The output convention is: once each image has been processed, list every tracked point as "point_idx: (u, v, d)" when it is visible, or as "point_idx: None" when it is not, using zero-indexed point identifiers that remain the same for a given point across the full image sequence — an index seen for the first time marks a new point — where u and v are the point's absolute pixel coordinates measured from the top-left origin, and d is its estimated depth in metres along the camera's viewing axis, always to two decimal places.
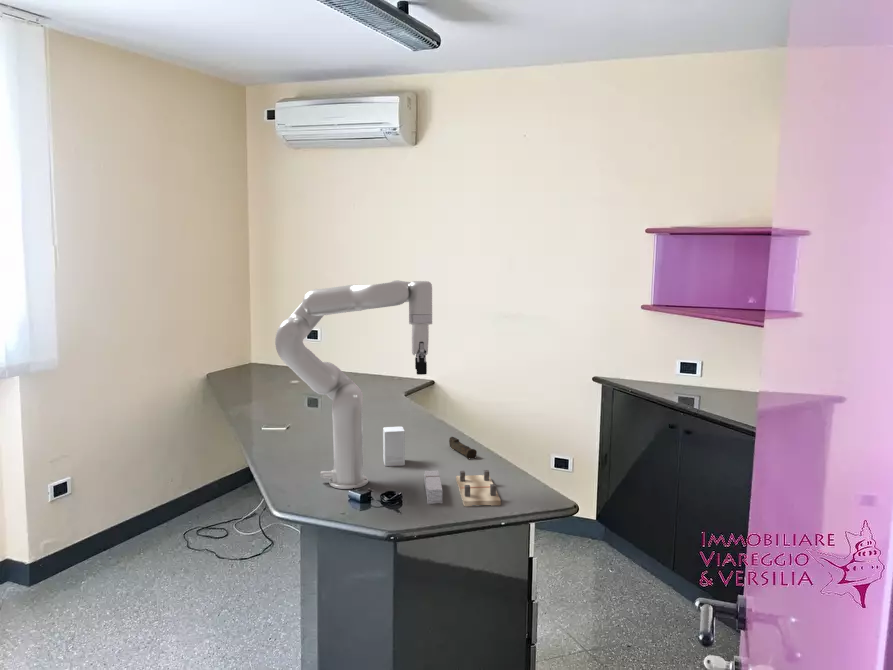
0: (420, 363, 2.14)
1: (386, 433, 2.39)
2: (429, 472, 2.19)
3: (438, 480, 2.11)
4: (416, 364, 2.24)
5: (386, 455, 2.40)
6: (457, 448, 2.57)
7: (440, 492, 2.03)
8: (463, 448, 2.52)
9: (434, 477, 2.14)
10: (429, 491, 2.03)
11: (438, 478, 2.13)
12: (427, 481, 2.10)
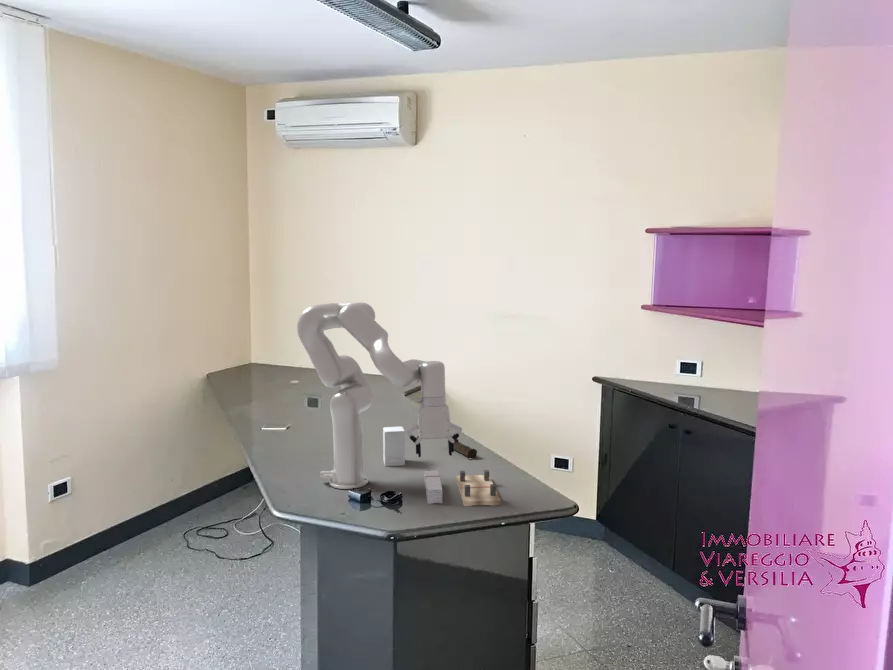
0: None
1: (386, 433, 2.39)
2: (429, 472, 2.19)
3: (438, 480, 2.11)
4: (420, 451, 2.09)
5: (386, 455, 2.40)
6: (457, 448, 2.56)
7: (440, 492, 2.03)
8: (463, 448, 2.52)
9: (434, 477, 2.14)
10: (429, 491, 2.03)
11: (438, 478, 2.13)
12: (427, 481, 2.10)
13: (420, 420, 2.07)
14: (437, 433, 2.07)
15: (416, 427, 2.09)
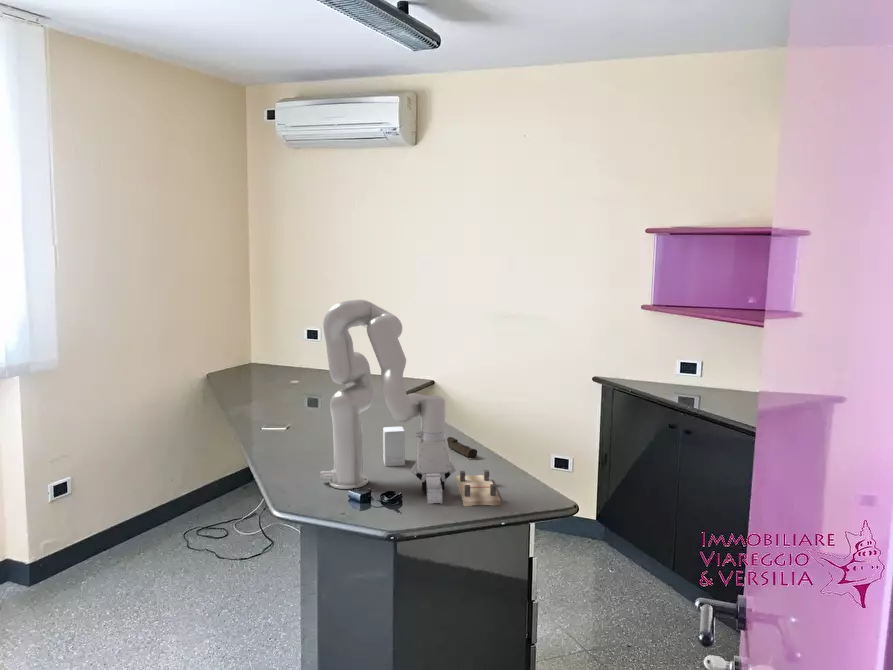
0: None
1: (386, 433, 2.39)
2: None
3: (438, 480, 2.11)
4: None
5: (386, 455, 2.40)
6: (456, 448, 2.56)
7: (440, 492, 2.03)
8: (463, 448, 2.52)
9: (434, 477, 2.14)
10: (429, 491, 2.03)
11: (438, 478, 2.13)
12: (427, 481, 2.10)
13: (419, 454, 2.08)
14: (436, 468, 2.09)
15: None
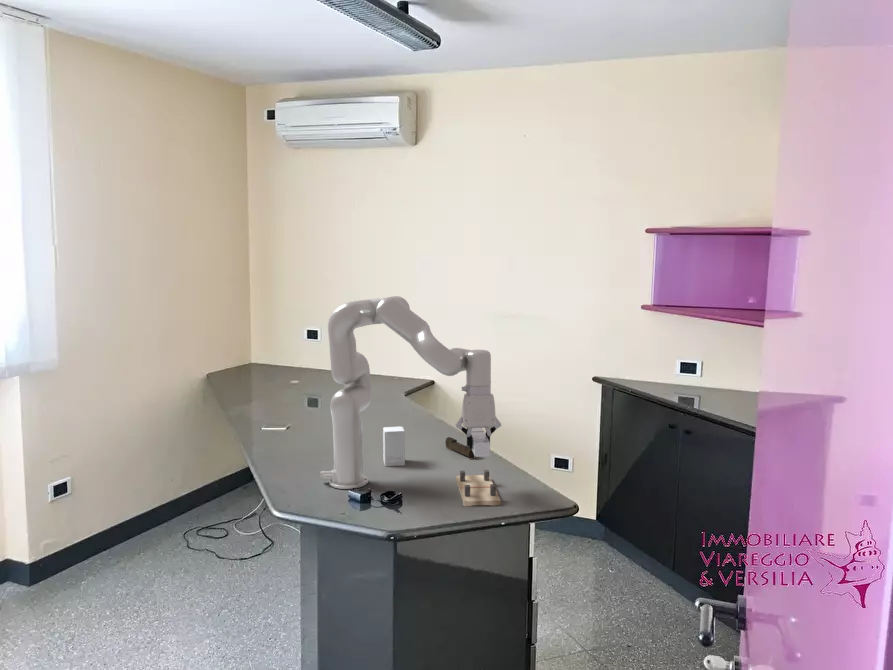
0: (489, 436, 2.09)
1: (386, 433, 2.39)
2: (473, 428, 2.17)
3: (483, 435, 2.09)
4: None
5: (386, 455, 2.40)
6: (456, 448, 2.56)
7: (487, 445, 2.01)
8: (463, 448, 2.52)
9: (479, 432, 2.12)
10: (476, 444, 2.00)
11: (483, 433, 2.11)
12: (473, 435, 2.08)
13: (465, 408, 2.06)
14: (482, 422, 2.06)
15: None
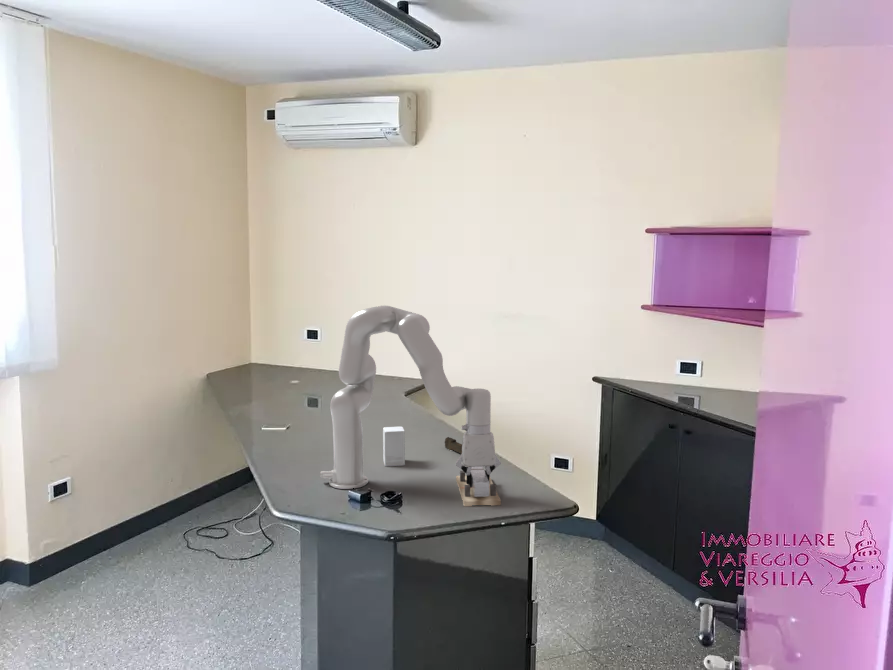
0: None
1: (386, 433, 2.39)
2: None
3: (483, 473, 2.10)
4: (471, 482, 2.10)
5: (386, 455, 2.40)
6: (456, 448, 2.56)
7: (487, 485, 2.02)
8: None
9: (479, 470, 2.13)
10: (476, 484, 2.02)
11: (483, 471, 2.12)
12: (472, 474, 2.09)
13: (465, 447, 2.07)
14: (481, 461, 2.08)
15: None
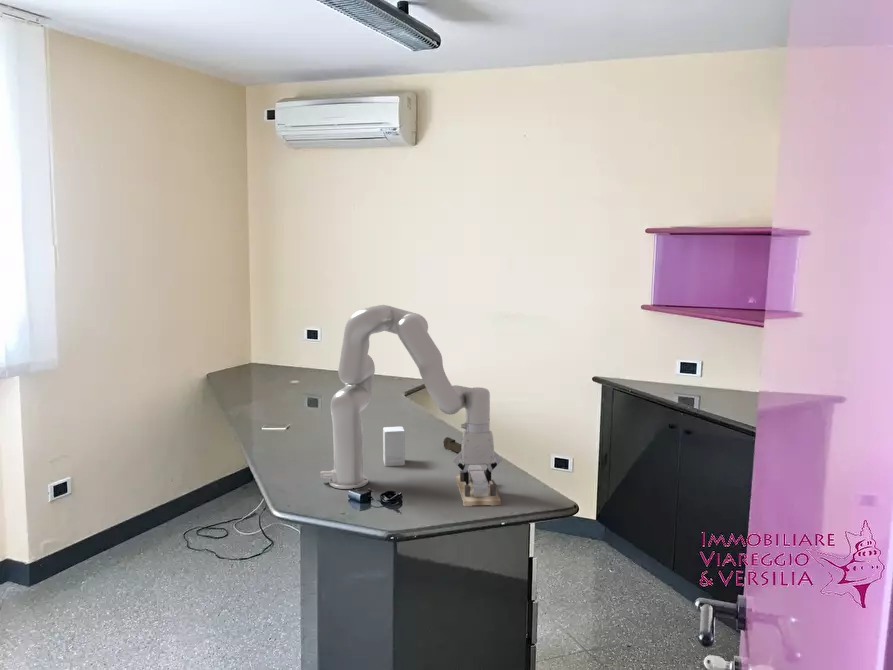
0: (491, 471, 2.13)
1: (386, 433, 2.39)
2: (472, 466, 2.20)
3: (482, 474, 2.12)
4: (468, 479, 2.12)
5: (386, 455, 2.40)
6: (455, 448, 2.56)
7: (486, 485, 2.04)
8: None
9: (478, 471, 2.15)
10: (475, 484, 2.04)
11: (482, 472, 2.14)
12: (472, 475, 2.11)
13: (464, 445, 2.09)
14: (481, 459, 2.10)
15: (461, 454, 2.11)
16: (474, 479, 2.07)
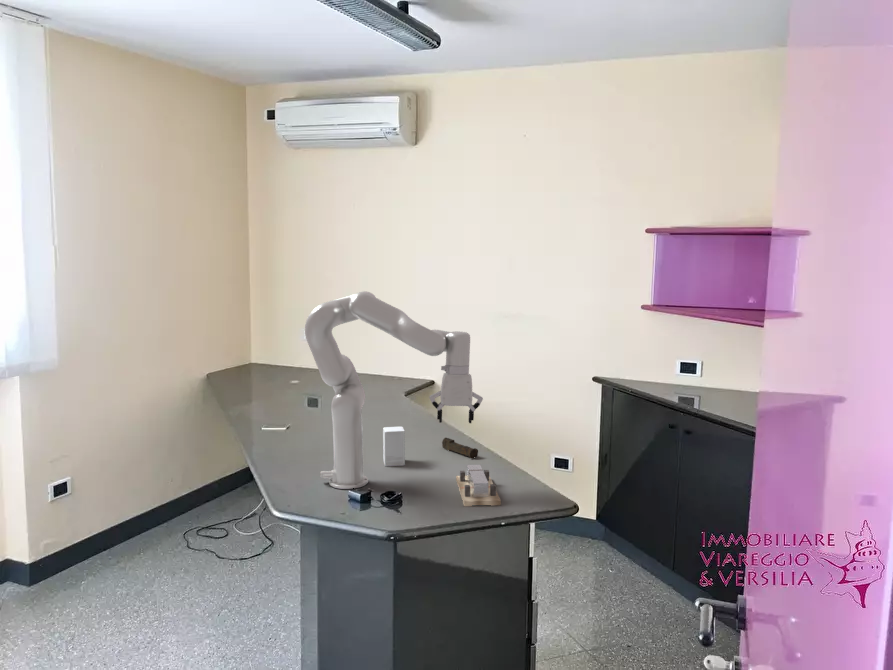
0: (473, 411, 2.19)
1: (386, 433, 2.39)
2: (472, 466, 2.20)
3: (482, 474, 2.12)
4: None
5: (386, 455, 2.40)
6: (455, 449, 2.56)
7: (486, 485, 2.04)
8: (463, 448, 2.52)
9: (478, 471, 2.15)
10: (475, 484, 2.04)
11: (482, 472, 2.14)
12: (472, 475, 2.11)
13: (443, 386, 2.15)
14: (459, 401, 2.16)
15: (439, 394, 2.17)
16: (474, 479, 2.07)
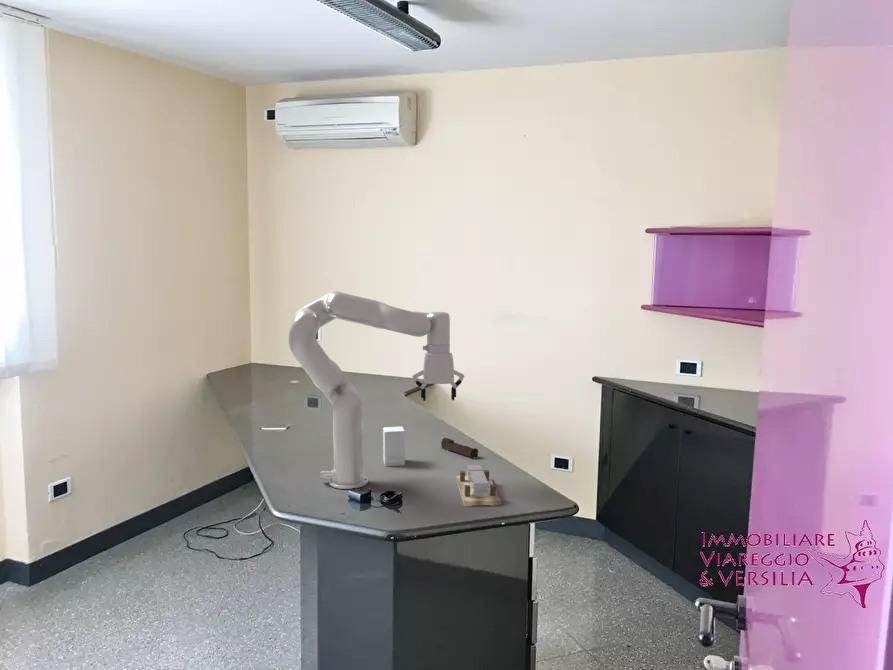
0: None
1: (386, 433, 2.39)
2: (472, 466, 2.20)
3: (482, 474, 2.12)
4: (425, 395, 2.25)
5: (386, 455, 2.40)
6: (455, 449, 2.56)
7: (486, 485, 2.04)
8: (463, 448, 2.52)
9: (478, 471, 2.15)
10: (475, 484, 2.04)
11: (482, 472, 2.14)
12: (472, 475, 2.11)
13: (426, 365, 2.22)
14: (441, 378, 2.23)
15: (422, 373, 2.25)
16: (474, 479, 2.07)
